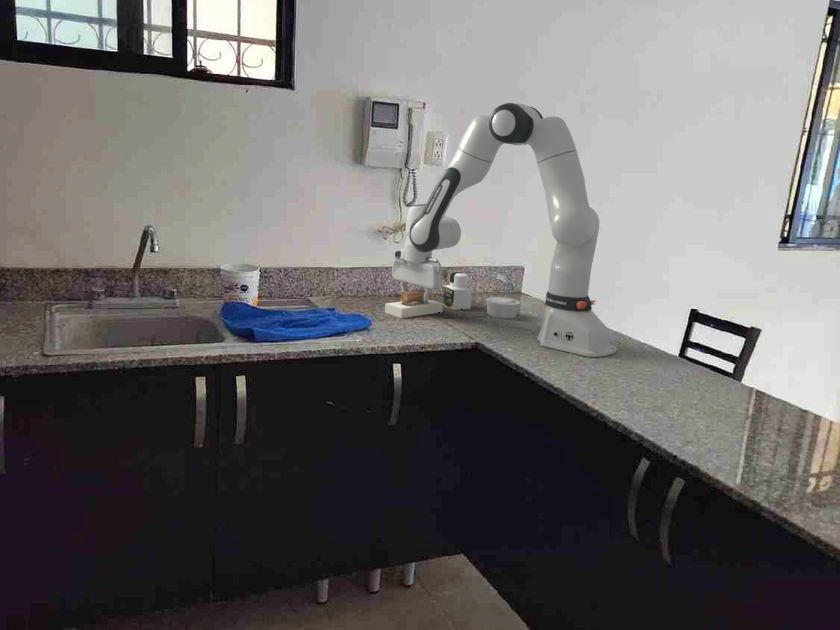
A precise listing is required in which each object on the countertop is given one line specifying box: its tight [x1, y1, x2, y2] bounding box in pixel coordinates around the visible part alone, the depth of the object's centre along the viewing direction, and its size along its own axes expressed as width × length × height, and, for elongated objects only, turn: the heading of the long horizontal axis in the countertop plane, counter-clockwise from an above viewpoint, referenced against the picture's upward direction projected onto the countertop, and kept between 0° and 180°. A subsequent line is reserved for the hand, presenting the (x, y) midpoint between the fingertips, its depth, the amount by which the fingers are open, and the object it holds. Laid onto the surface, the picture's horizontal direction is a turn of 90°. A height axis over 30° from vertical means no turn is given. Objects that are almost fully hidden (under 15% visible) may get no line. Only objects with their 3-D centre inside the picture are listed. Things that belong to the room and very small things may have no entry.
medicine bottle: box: [442, 271, 473, 311], centre depth 227 cm, size 7×7×12 cm
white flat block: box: [384, 299, 444, 319], centre depth 216 cm, size 8×18×3 cm, turn 133°
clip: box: [399, 288, 431, 306], centre depth 215 cm, size 3×10×7 cm, turn 133°
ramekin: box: [486, 296, 521, 320], centre depth 220 cm, size 11×11×5 cm
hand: (415, 297), depth 215 cm, fingers open, 8 cm apart
